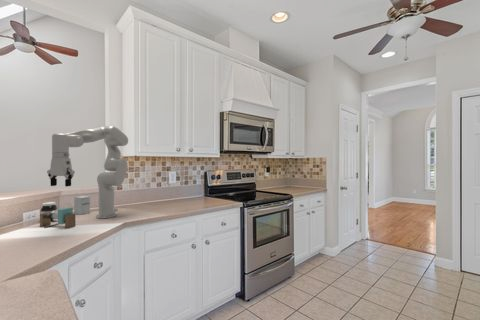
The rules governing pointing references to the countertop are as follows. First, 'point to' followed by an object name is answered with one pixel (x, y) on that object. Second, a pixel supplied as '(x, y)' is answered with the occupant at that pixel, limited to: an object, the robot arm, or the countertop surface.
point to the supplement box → (82, 205)
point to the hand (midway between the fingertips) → (60, 186)
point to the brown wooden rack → (46, 218)
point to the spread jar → (49, 208)
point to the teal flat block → (63, 214)
